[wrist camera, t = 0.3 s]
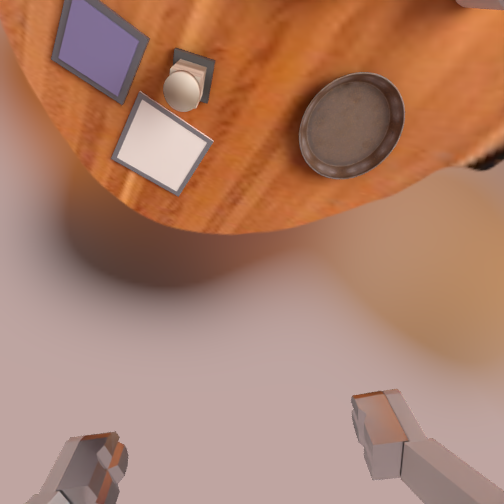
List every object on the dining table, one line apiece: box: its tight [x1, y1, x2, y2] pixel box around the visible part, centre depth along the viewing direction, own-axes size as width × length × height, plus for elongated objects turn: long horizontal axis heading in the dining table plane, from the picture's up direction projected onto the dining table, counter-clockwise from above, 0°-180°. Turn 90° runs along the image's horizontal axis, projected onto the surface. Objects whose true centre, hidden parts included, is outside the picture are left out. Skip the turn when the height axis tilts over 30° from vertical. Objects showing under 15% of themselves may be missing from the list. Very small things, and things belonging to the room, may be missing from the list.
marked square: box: [111, 91, 213, 197], centre depth 54 cm, size 14×14×1 cm
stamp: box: [163, 48, 215, 112], centre depth 43 cm, size 6×6×11 cm
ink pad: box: [51, 0, 150, 105], centre depth 44 cm, size 11×11×1 cm
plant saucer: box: [299, 72, 405, 179], centre depth 51 cm, size 18×18×3 cm
